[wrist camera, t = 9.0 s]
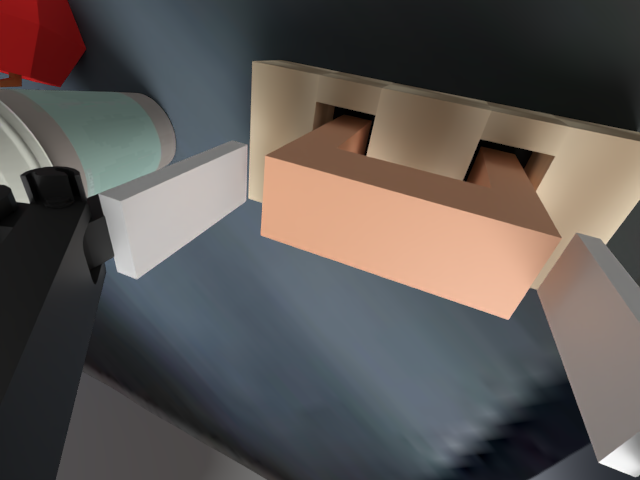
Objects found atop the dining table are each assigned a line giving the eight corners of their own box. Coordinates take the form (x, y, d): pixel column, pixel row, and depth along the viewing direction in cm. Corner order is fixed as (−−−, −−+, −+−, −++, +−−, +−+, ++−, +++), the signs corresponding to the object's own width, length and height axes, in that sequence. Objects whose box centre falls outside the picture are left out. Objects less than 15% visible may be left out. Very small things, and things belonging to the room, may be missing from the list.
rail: (273, 181, 24) (248, 198, 21) (282, 60, 20) (252, 61, 17) (549, 263, 20) (565, 298, 17) (637, 131, 16) (677, 149, 13)
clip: (334, 168, 22) (260, 235, 14) (343, 114, 20) (265, 155, 12) (487, 210, 20) (508, 319, 12) (514, 154, 18) (561, 238, 10)
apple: (-100, -90, 18) (-97, 62, 20) (13, -64, 18) (7, 88, 19) (22, -17, 25) (17, 92, 26) (105, 2, 25) (95, 111, 26)
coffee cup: (87, 102, 27) (-125, 129, 17) (147, 50, 23) (-88, 46, 13) (146, 195, 30) (-8, 264, 20) (210, 163, 25) (55, 231, 16)
